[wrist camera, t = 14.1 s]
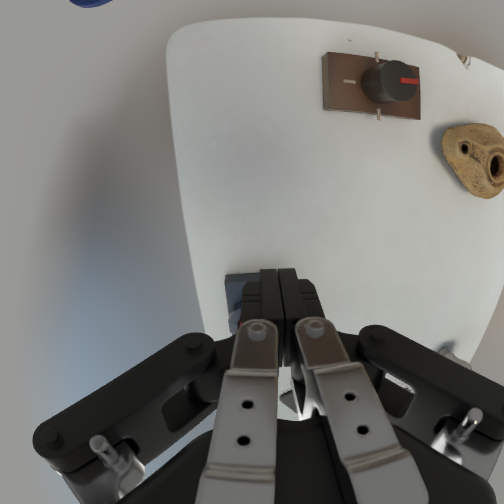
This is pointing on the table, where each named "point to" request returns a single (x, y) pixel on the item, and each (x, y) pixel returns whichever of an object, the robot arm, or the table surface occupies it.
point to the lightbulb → (454, 358)
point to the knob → (389, 82)
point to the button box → (236, 296)
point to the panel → (360, 87)
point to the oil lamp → (476, 157)
